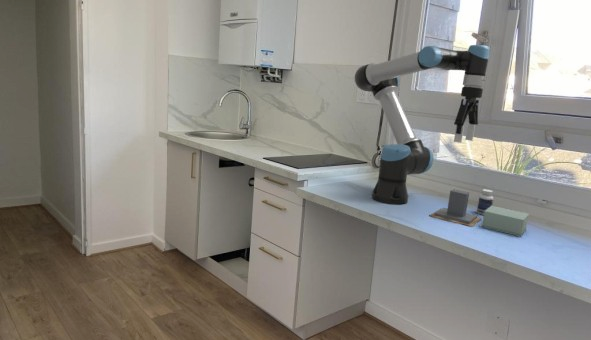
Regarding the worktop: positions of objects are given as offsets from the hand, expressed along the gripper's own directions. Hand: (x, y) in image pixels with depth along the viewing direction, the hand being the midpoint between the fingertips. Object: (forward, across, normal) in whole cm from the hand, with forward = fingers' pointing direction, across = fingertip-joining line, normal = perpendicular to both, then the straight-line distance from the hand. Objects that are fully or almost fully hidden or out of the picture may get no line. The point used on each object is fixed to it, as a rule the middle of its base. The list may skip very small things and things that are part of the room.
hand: (463, 141), depth 173 cm
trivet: (+28, -9, -5) cm, 30 cm away
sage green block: (+28, -7, -22) cm, 36 cm away
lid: (+28, -9, -5) cm, 30 cm away
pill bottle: (+29, +7, -11) cm, 31 cm away
